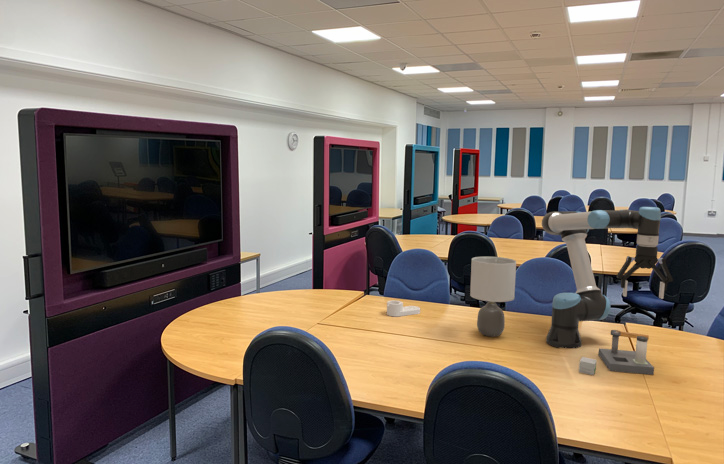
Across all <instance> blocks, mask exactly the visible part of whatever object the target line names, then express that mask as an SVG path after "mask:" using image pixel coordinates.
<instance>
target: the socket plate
mask: <svg viewBox="0 0 724 464" xmlns="http://www.w3.org/2000/svg"><path fill="white" fill-rule="evenodd" d="M611 336H612V338H611V349H609V348H600V347H599V348H598V352H597V353H598V356H599V358H600V359H601V361H602V362H603V364H604V365H605V366H606V368H607V370H608V371H609V372H619V373H629V374H639V375H641V374H642V375H650V376H653V375H654V372H655V366H653V365H652V364H651V363H650V361H649V360H648V359H646V363H638V362H636V361H635V353H636V350H623V349H619V339H620V338H619V337H620V336H613V335H611Z"/></svg>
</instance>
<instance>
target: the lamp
mask: <svg viewBox="0 0 724 464" xmlns="http://www.w3.org/2000/svg"><path fill="white" fill-rule="evenodd" d="M470 266H471V268H470V269H471V270H470V271H471V272H470V286H469V287H470V289H469V290H470V291H469V292H470V293H469V294H470V295H469V296H470V297H471V298H473V299H475V300H479V301H485V302H486V304H485V305H483V306H481V308H480V309H478V313H477V317H476V318H477V320H476V327H477V331H478V332H479V333H480V334H481V335H483V336H486V337H499V336H501V335H502V334H503V332H504V330H505V326H506V325H505V322H506V321H505V318H506V317H505V312H504V310H503V309H502V308H500V307H499V306H498V304H497V303H504V302H511V301H515V296H516V295H515V291H516V276H517V275H516V274H517V273H516V272H517V261H516V260H515V259H513V258H509V257H500V256H475V257H472V258H471V265H470Z"/></svg>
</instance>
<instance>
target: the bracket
mask: <svg viewBox="0 0 724 464" xmlns="http://www.w3.org/2000/svg"><path fill="white" fill-rule="evenodd" d="M418 314H421V308H420V306H417V305H416V306H415V305H406V306H404V302H403V301H401V300H388V301H386V315H387V316H389V317H405V316H410V315H412V316H413V315H418Z"/></svg>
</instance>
